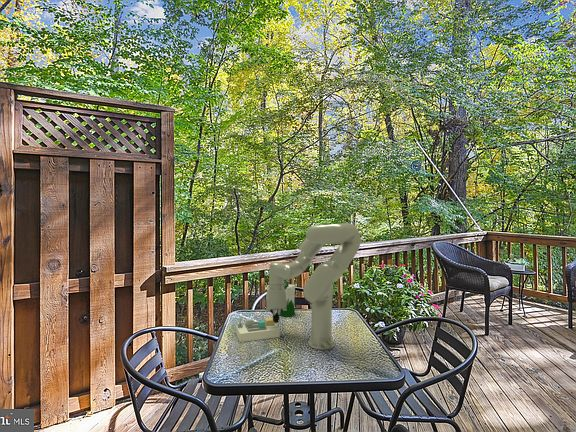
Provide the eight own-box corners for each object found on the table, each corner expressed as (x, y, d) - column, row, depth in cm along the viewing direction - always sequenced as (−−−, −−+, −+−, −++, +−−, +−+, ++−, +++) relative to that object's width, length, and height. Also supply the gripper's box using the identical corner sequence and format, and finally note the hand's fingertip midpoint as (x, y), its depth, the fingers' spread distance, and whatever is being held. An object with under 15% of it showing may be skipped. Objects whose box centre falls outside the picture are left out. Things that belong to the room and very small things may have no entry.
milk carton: (276, 315, 195) (276, 282, 195) (285, 311, 203) (284, 279, 203) (289, 318, 191) (289, 284, 190) (297, 314, 198) (297, 281, 198)
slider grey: (253, 326, 166) (253, 320, 166) (247, 327, 165) (247, 320, 165) (252, 325, 169) (252, 318, 168) (246, 325, 168) (246, 318, 168)
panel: (279, 336, 163) (279, 317, 163) (240, 342, 157) (239, 321, 156) (273, 328, 174) (273, 310, 174) (235, 333, 168) (235, 314, 168)
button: (274, 329, 169) (274, 320, 169) (266, 330, 167) (266, 321, 167) (272, 326, 173) (272, 317, 173) (264, 327, 171) (264, 318, 171)
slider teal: (265, 329, 163) (265, 322, 163) (259, 329, 162) (259, 322, 162) (263, 327, 165) (263, 320, 165) (258, 327, 164) (258, 321, 164)
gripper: (288, 283, 172) (287, 318, 172) (260, 285, 167) (259, 320, 168) (292, 287, 165) (292, 323, 165) (264, 289, 160) (263, 326, 160)
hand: (275, 321), depth 166 cm, fingers closed
